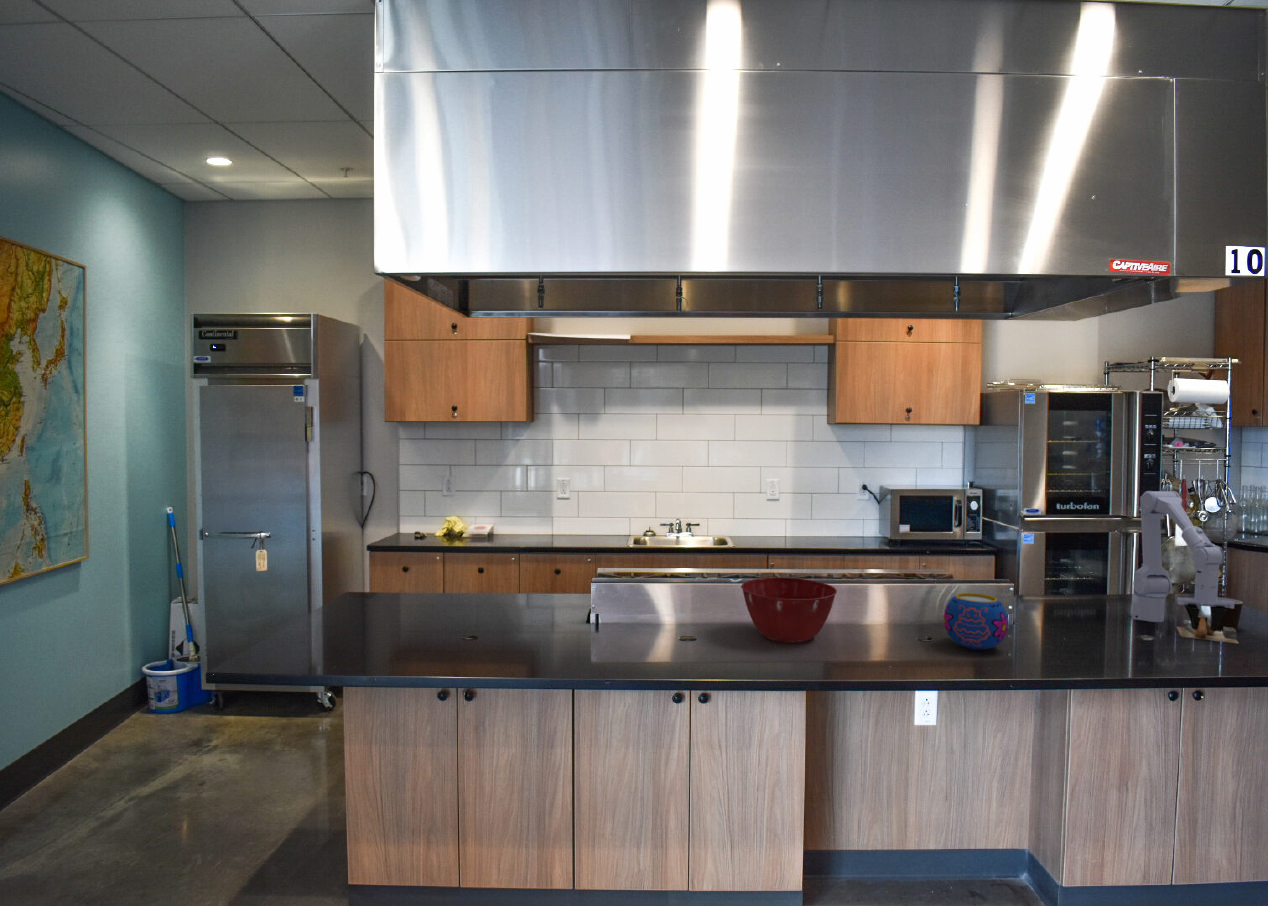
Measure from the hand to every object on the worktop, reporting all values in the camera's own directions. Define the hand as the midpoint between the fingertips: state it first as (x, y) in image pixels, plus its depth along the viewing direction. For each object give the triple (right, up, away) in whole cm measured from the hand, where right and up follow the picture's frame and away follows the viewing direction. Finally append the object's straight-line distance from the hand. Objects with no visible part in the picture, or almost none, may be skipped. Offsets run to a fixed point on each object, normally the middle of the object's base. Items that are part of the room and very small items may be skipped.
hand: (1204, 629), depth 250 cm
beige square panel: (+3, -3, +4) cm, 6 cm away
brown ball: (+3, -2, +5) cm, 6 cm away
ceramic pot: (-74, -3, -10) cm, 75 cm away
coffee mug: (+16, -3, +13) cm, 20 cm away
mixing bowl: (-128, -2, -2) cm, 128 cm away
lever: (+1, -2, +6) cm, 6 cm away
